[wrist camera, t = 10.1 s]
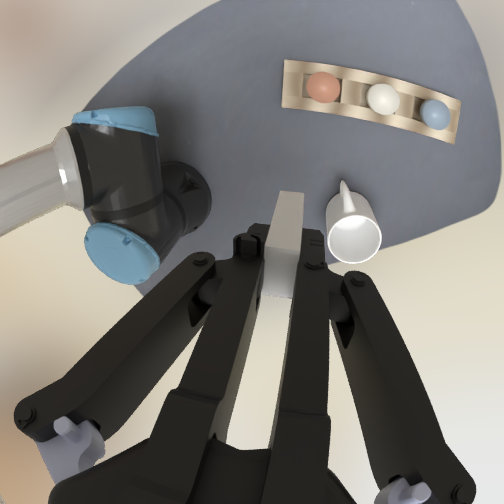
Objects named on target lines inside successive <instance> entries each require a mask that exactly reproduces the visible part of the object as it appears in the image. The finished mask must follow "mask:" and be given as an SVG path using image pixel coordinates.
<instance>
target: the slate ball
mask: <svg viewBox="0 0 504 504" xmlns="http://www.w3.org/2000/svg"><path fill="white" fill-rule="evenodd" d="M420 116H421V119H422V121H423V122H424V124H425V125H427V126H428V127H430V128H433V129H435V130H443V129H445V128H446V127H447V126H448V125H449V123H450V119H451V115H450V111H449V109H448V107H447V106H446V104H444V103H443V102H442V101H439V100H434V99H428V100H426V101H424V102H423V103H422V105H421V107H420Z"/></svg>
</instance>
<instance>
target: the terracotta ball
mask: <svg viewBox="0 0 504 504" xmlns="http://www.w3.org/2000/svg"><path fill="white" fill-rule="evenodd" d="M306 88H307V92H308V94H309V96H310V97H311V98H312V99H313V100H315V101H317V102H319V103H330V102H332V101H334V100H335V99H336V98H337V97H338V96H339V93H340V84H339V82H338V80H337V79H336V77H335V76H333V75H332V74H330V73H327V72H317V73H314V74H313V75H311V76H310V77H309V79H308V81H307V85H306Z"/></svg>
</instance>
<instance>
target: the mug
mask: <svg viewBox="0 0 504 504" xmlns="http://www.w3.org/2000/svg"><path fill="white" fill-rule="evenodd" d="M326 226H327V241H328V247H329V249H330V251H331V253H332V254H333V255H334V256H335V257H336V258H337V259H338V260H340V261H342V262H346V263H351V264H352V263H353V264H354V263H361V262H364V261H366V260H368V259H370V258H371V257H372V256H374V255H375V254H376V252H377V251H378V249H379V247H380V244H381V239H382V237H381V231H380V228H379V226H378V223H377V221H376V219H375V216H374V214H373V211H372V209H371V207H370V205H369V203H368V201H367V200H366V199H365V198H364V197H363V196H362V195H360V194H359V193H356V192H352V191H349V189H348V187H347V185H346V183H345V182H344V181H343V180H342V181H341V183H340V193H339V194H337V195H335V196H334V197H333V198H332V199H331V200H330V201H329V203H328V205H327V208H326Z"/></svg>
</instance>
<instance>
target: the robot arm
mask: <svg viewBox="0 0 504 504" xmlns="http://www.w3.org/2000/svg"><path fill="white" fill-rule="evenodd" d="M72 123H73V125H70V126H67V127H64V128H61V129H60V131H59V132H58V134H57V136H56V137H55V139H54V141H53V142H52V143H51V144H48V145H46V146H43V147H40V148H38V149H35V150H33V151H30V152H28V153H26V154H23V155H21V156H19V157H16V158H14V159H12V160H10V161H8V162H5V163H3V164H1V165H0V237H1V236H3V235H5V234H7V233H9V232H11V231H13V230H14V229H16V228H18V227H20V226H22V225H24V224H26V223H28V222H30V221H32V220H34V219H36V218H38V217H41V216H43V215H45V214H47V213H49V212H51V211H53V210H56V209H58V208H60V207H62V206H65V205H68V206H71V207H73V208H75V209H77V210H79V211H81V210H84V209H86V208H89V207H90V211H91V214H92V218H93V222H94V224H92V225H91V226H90V227H89V228H88V231H87V232H86V236H85V238H84V243H85V248H86V251H87V254H88V256H89V257H90V259H91V260H92V262H93V263H94V264H95V266H96V267H97V268H98V269H99V270H100V271H101V272H103V273H104V274H105V275H107V276H108V277H110V278H111V279H113V280H115V281H118V282H120V283H123V284H128V285H136V284H140V283H143V282H145V281H146V280H147V279H148V278H149V277H150V276H151V275H152V274H153V272H155V271H156V270H158V268H159V266H160V264H161V263H162V262H163V260H164V259H165V258H166V256H167V255H168V253H169V252H170V251H171V249H172V248H173V247H174V245H175V244H176V243H177V241H178V240H179V238H180V237H182V236H184V235H186V234H189V233H191V232H193V231H195V230H196V229H198V228H199V227H200V226H201V225H202V224H203V222H204V221H205V220H206V218H207V217H208V215H209V212H210V209H211V194H210V190H209V187H208V185H207V183H206V181H205V180H204V178H203V177H202V176H201V175H200V174H199V173H198V172H197V171H196V170H195V169H193V168H192V167H190V166H188V165H186V164H183V163H179V162H167V163H163V164H160V155H159V145H158V137H159V134H158V133H157V129H156V122H155V115H154V113H153V111H152V110H151V109H150V108H148V107H145V106H129V107H115V108H106V109H99V110H92V111H84V112H79V113H76V114H74V116H73V119H72ZM303 207H304V193H298V192H290V191H281V190H280V194H279V197H278V201H277V204H276V208H275V211H274V215H273V218H272V222H271V225H266V224H258V223H254V224H253V225H252V226H250V227H249V229H248V231H247V233H242V234H239V235H237V236H235V237H234V238H233V257H232V258H230V259H227V260H217V261H215V257H214V256H213V255H212V254H210V253H208V252H196V253H193V254H191V255H189V256H188V257H187V258H186V259H184V260H183V261H182V262H181V263H180V264H179V265H178V266H177V267H176V268H175V269H173V270H172V271H171V272H170V273H169V274H168V275H167V276H166V277H165V278H164V279H163V280H161V281H160V282H159V283H158V284H157V285H156V286H155V287H154V288H153V289H152V290H151V291H150V292H149V293H148V294H146V295H145V296H144V297H143V298H142V299H141V300H140V301H139V302H138V303H137V304H136V305H135V306H134V307H133V308H132V309H131V310H130V311H129V312H128V313H127V314H126V315H125V316H123V318H121V319H120V320H119V321H118V322H117V323H116V324H115V325H114V326H113V327H112V328H111V329H110V330H109V331H108V332H107V333H106V334H105V335H104V336H103V337H102V338H101V339H100V340H99V341H98V342H97V343H96V344H95V345H94V346H93V347H92V348H91V349H90V350H89V351H88V352H87V353H86V354H85V355H84V356H83V357H82V358H81V359H80V360H79V361H78V362H77V363H76V364H75V365H74V366H73V367H72V368H71V369H70V370H69V371H68V372H67V373H66V375H65V376H64V377H63V378H61V379H59V380H57V381H56V382H54V383H52V384H50V385H48V386H46V387H45V388H43V389H41V390H39V391H37V392H35V393H34V394H32V395H30V396H28V397H26V398H24V399H23V400H21V401H20V402H19V403H18V405H17V406H16V408H15V411H14V422H15V424H16V426H17V428H18V429H20V430H21V431H22V432H23V433H24V434H26V435H27V436H29V437H30V438H32V439H33V440H34V441H35V442H36V444H37V446H38V448H39V451H40V453H41V455H42V458H43V460H44V462H45V464H46V466H47V469H48V471H49V473H50V474H51V477H52V479H53V481H54V482H55V484H56V485H55V487H54V488H53V489H52V491H51V493H50V496H49V500H48V504H357V503H356V502H355V501H354V499H353V498H352V497H351V495H350V494H349V493H348V491H347V490H346V489H345V487H344V486H343V484H342V483H341V482H340V480H339V479H338V478H337V476H336V475H335V474H334V473H333V472H332V471H331V470H330V469H329V468H327V467H328V457H329V446H330V433H331V419H330V416H329V415H328V414H327V403H328V382H329V381H328V380H329V319H330V320H331V325H332V328H333V332H334V335H335V338H336V341H337V345H338V348H339V351H340V354H341V357H342V361H343V364H344V367H345V371H346V374H347V378H348V381H349V385H350V388H351V392H352V395H353V399H354V403H355V406H356V410H357V413H358V418H359V421H360V425H361V429H362V433H363V437H364V441H365V445H366V449H367V453H368V458H369V462H370V466H371V469H372V472H373V476H374V478H375V481H376V483H377V485H378V488H379V489H380V492H379V493H378V495H377V496H376V499H375V501H374V504H472V502H473V501H474V498H475V495H476V484H475V482H474V480H473V478H472V477H471V476H470V475H469V473H468V472H467V470H465V468H464V466H463V465H462V464H461V462H460V461H459V460H458V459H457V457H456V456H455V455H454V453H453V452H452V451H451V449H450V448H449V447H448V446H447V444H446V443H445V440H444V437H443V434H442V432H441V429H440V426H439V423H438V421H437V418H436V415H435V412H434V410H433V407H432V405H431V402H430V400H429V397H428V395H427V392H426V390H425V387H424V385H423V383H422V380H421V378H420V376H419V373H418V371H417V369H416V367H415V364H414V362H413V360H412V358H411V355H410V353H409V351H408V349H407V347H406V345H405V343H404V340H403V338H402V336H401V334H400V332H399V330H398V328H397V326H396V324H395V322H394V320H393V318H392V316H391V314H390V312H389V311H388V309H387V307H386V305H385V303H384V301H383V299H382V297H381V296H380V294H379V292H378V290H377V288H376V286H375V284H374V283H373V281H372V279H371V278H370V277H369V276H368V275H366V274H365V273H363V272H360V271H349V272H347V273H346V274H345V275H344V276H341V275H338V274H336V273H333V272H332V271H330V270H329V269H328V266H327V263H326V262H325V249H324V235H323V234H322V233H321V232H320V230H313V229H305V228H302V222H303ZM261 291H262V295H268V296H276V297H283V298H290V299H292V304H291V310H290V316H289V317H290V319H289V327H288V333H287V341H286V348H285V354H284V361H283V367H282V374H281V380H280V386H279V393H278V398H277V404H276V409H275V415H274V420H273V426H272V431H271V436H270V441H269V445H268V449H256V450H239V449H236V448H234V447H232V446H230V445H228V444H226V438H227V431H228V427H229V423H230V419H231V415H232V412H233V408H234V404H235V400H236V396H237V393H238V389H239V384H240V381H241V377H242V373H243V369H244V366H245V362H246V357H247V353H248V350H249V345H250V342H251V338H252V334H253V329H254V326H255V322H256V318H257V313H258V309H259V305H260V298H261ZM202 326H203V328H202V331H201V333H200V335H199V337H198V340H197V342H196V345H195V347H194V350H193V352H192V355H191V357H190V359H189V362H188V364H187V366H186V369H185V371H184V374H183V376H182V379H181V381H180V384H179V386H178V387H177V388H176V389H172V390H171V391H170V392H169V393H168V395H167V397H166V399H165V401H164V404H163V406H162V408H161V411H160V414H159V416H158V418H157V421H156V423H155V426H154V428H153V431H152V433H151V435H150V438H147V439H145V440H143V441H142V442H140V443H138V444H136V445H134V446H132V447H130V448H129V449H127V450H125V451H123V452H121V453H119V454H117V455H115V456H113V457H112V458H109V459H108V460H106V461H104V462H102V463H99V464H98V465H95V466H94V464H95V462H96V461H97V460H98V459H101V458H102V457H103V456H104V455H105V449H104V447H105V445H104V441H106V440H107V439H109V438H110V437H111V436H112V435H113V434H115V433H116V432H117V431H118V430H119V429H120V428H121V427H122V426H123V425H124V423H125V422H126V421H127V420H128V419H129V417H130V416H131V415H132V414H133V412H134V411H135V410H136V409H137V408H138V406H139V405H140V404H141V403H142V401H143V400H144V399H145V398H146V396H147V395H148V394H149V393H150V391H151V390H152V389H153V388H154V386H155V385H156V384H157V383H158V381H159V380H160V379H161V377H162V376H163V375H164V374H165V372H166V371H167V370H168V369H169V367H170V366H171V365H172V364H173V363H174V361H175V360H176V358H177V357H178V356H179V355H180V353H181V352H182V351H183V350H184V349H185V347H186V346H187V345H188V344H189V342H190V341H191V340H192V339H193V337H194V336H195V335H196V334H197V332H198V331H199V330H200V328H201V327H202ZM0 504H6V503H5V502H4V500H3V499H2V497H1V495H0Z"/></svg>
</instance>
